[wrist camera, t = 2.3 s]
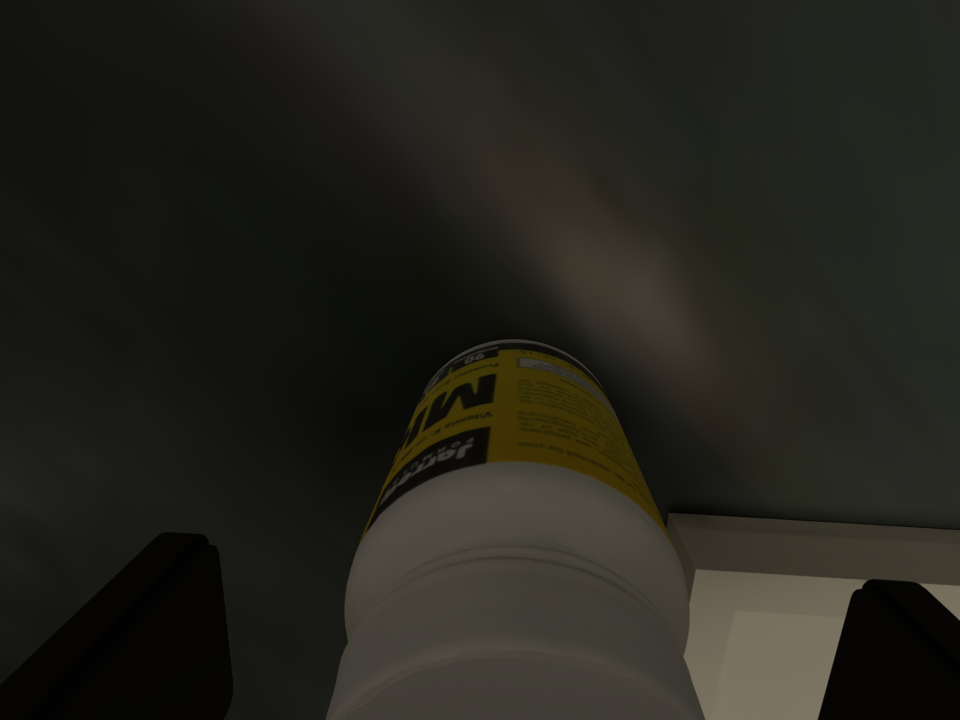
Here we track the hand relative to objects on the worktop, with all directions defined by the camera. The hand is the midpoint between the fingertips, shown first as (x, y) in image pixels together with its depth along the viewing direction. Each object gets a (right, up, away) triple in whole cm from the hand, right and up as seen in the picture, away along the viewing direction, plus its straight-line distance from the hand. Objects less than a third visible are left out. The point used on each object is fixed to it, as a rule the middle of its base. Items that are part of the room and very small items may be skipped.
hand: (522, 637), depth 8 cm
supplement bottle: (0, +3, +5) cm, 6 cm away
